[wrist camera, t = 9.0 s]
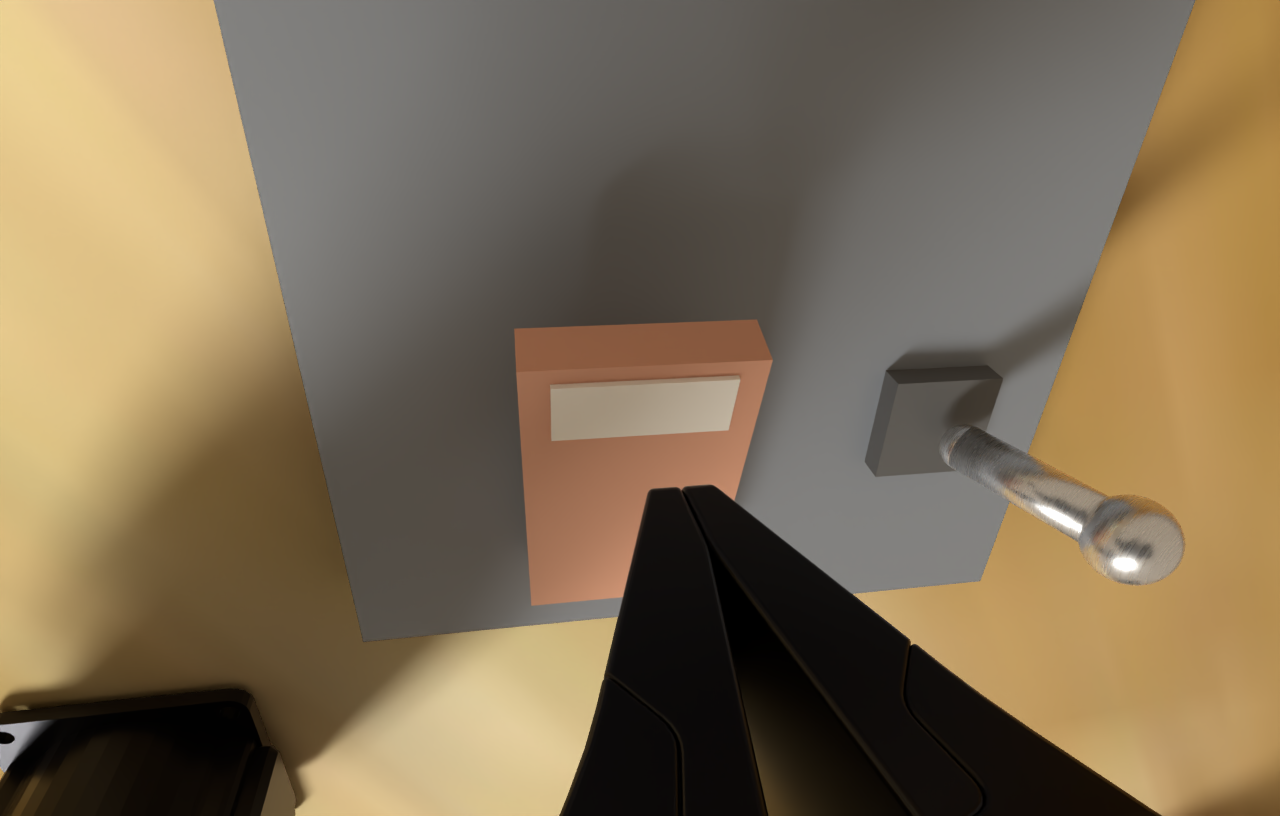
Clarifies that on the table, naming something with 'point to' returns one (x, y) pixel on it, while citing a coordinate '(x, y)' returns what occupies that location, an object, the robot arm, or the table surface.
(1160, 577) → the toggle
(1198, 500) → the table surface
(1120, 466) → the table surface
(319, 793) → the table surface
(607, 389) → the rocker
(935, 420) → the switch panel
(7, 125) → the table surface
